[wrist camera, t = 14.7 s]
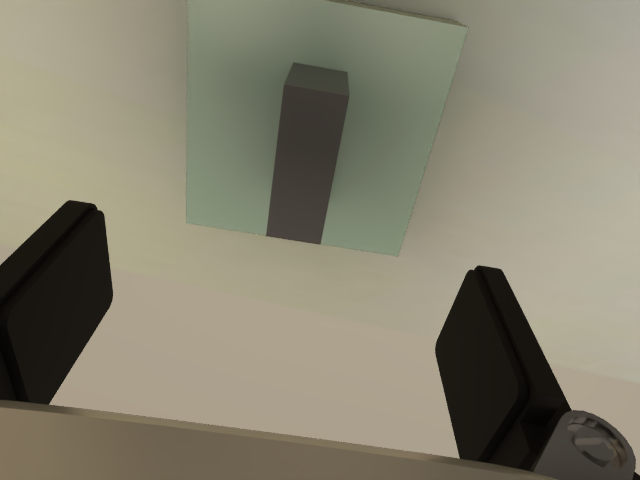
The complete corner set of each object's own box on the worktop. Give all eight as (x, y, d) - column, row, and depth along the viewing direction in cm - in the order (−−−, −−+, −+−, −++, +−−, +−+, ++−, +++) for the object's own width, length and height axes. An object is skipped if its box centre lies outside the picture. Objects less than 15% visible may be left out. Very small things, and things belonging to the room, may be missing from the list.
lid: (201, -27, 22) (152, -22, 16) (457, 21, 22) (498, 42, 17) (196, 205, 28) (160, 268, 22) (393, 236, 29) (408, 305, 23)
